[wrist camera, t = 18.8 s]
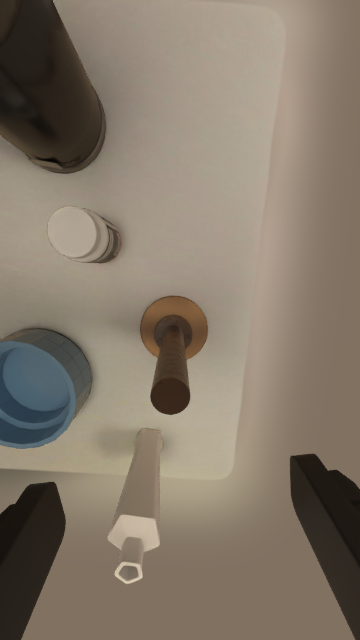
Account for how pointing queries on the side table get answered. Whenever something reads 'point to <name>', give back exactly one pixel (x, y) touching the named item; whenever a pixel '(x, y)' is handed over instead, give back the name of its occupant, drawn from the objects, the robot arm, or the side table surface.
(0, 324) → the side table surface
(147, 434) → the perfume bottle
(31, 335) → the bowl
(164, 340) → the brown wooden peg
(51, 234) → the pill bottle
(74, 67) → the robot arm
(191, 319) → the coaster
